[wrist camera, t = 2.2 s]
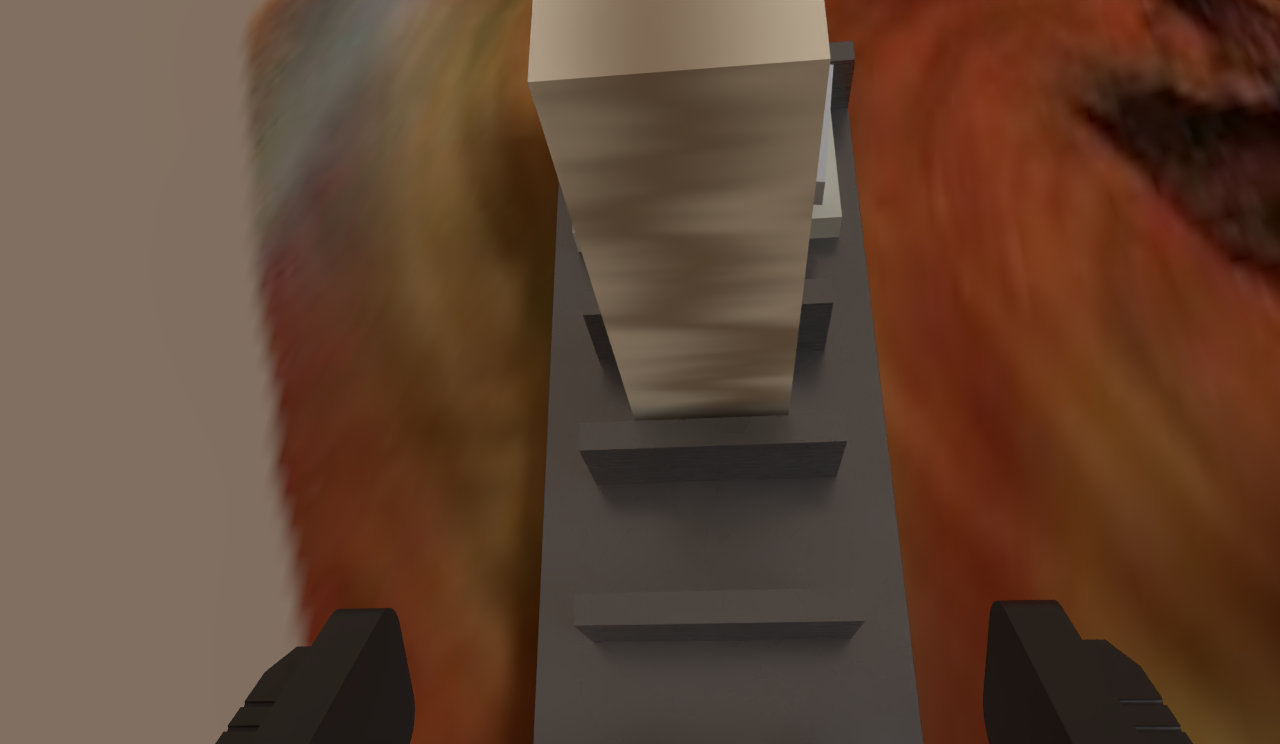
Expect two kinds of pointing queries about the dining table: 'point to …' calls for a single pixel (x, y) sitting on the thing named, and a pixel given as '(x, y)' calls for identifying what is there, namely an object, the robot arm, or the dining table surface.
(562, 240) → the rack
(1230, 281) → the dining table surface
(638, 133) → the beige tall block
